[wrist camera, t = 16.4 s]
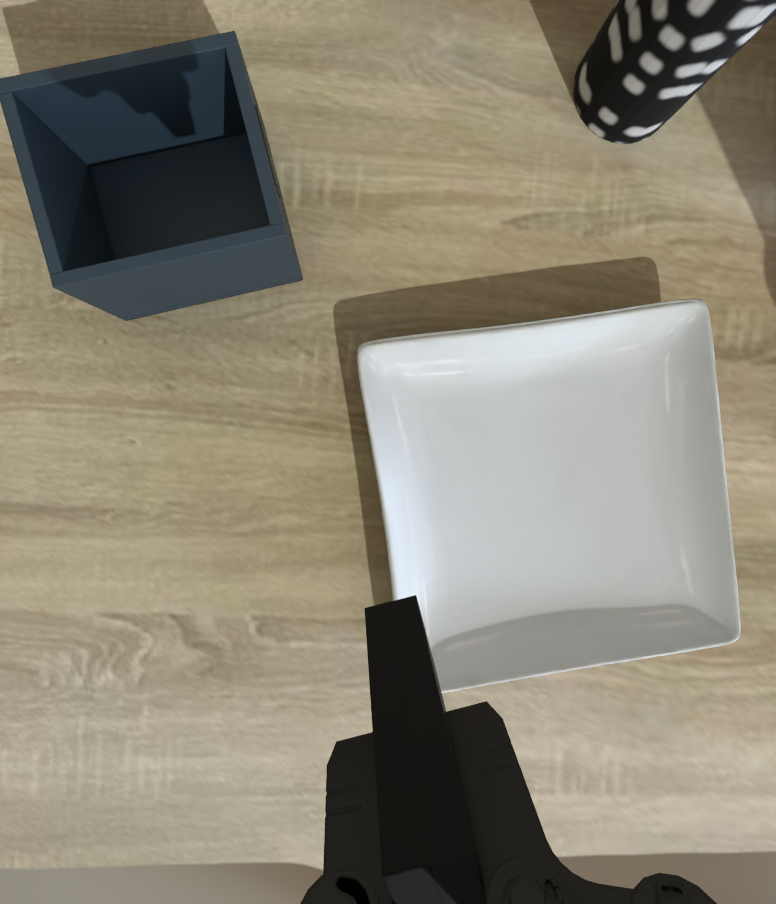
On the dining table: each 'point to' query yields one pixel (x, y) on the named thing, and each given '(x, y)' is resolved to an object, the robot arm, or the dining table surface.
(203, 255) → the navy storage bin
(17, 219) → the dining table surface
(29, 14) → the dining table surface
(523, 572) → the square plate
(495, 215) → the dining table surface
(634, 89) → the white-spotted black cylinder
